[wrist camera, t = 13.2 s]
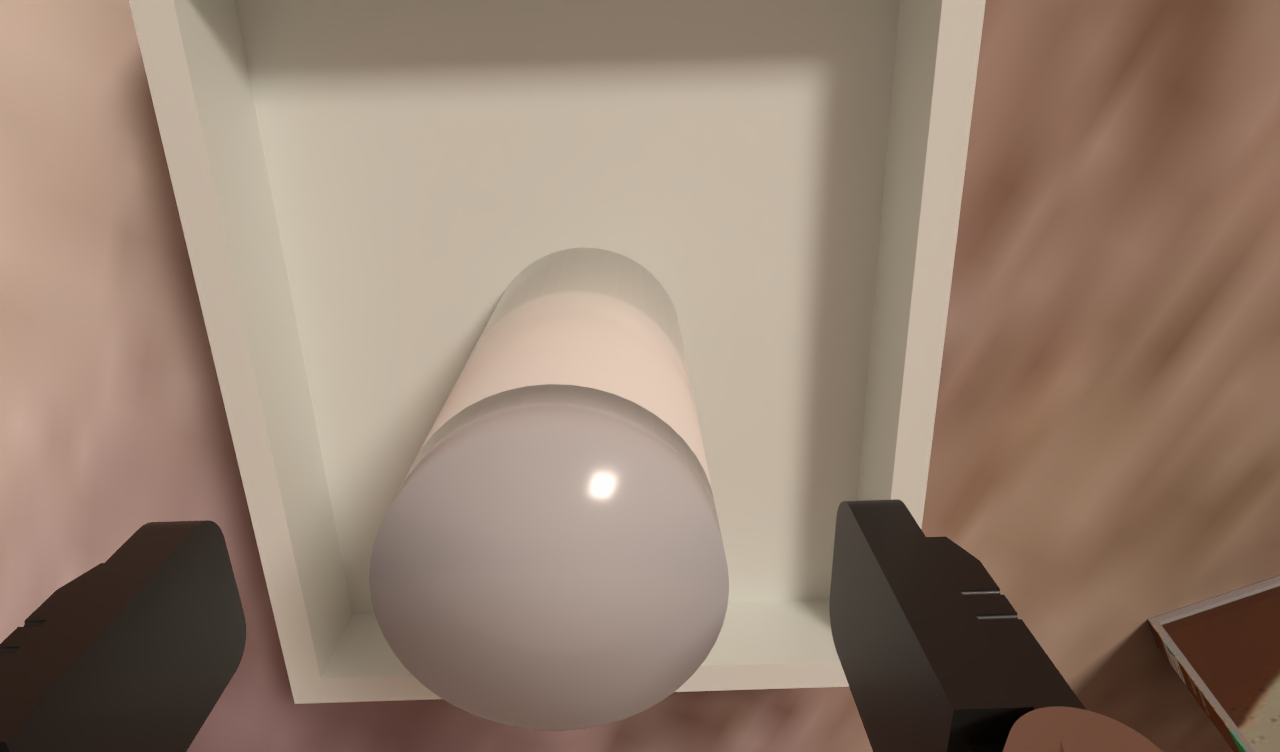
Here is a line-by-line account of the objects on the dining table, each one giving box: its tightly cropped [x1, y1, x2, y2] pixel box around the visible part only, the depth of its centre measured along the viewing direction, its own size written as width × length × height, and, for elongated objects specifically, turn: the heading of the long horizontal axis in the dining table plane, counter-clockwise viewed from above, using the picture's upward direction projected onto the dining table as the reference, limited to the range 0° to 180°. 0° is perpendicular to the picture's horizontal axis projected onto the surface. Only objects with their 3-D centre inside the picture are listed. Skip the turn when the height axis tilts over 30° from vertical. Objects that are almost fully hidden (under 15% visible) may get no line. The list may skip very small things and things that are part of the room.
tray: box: [129, 0, 986, 704], centre depth 19 cm, size 16×18×4 cm
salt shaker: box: [369, 248, 729, 731], centre depth 15 cm, size 5×5×10 cm
